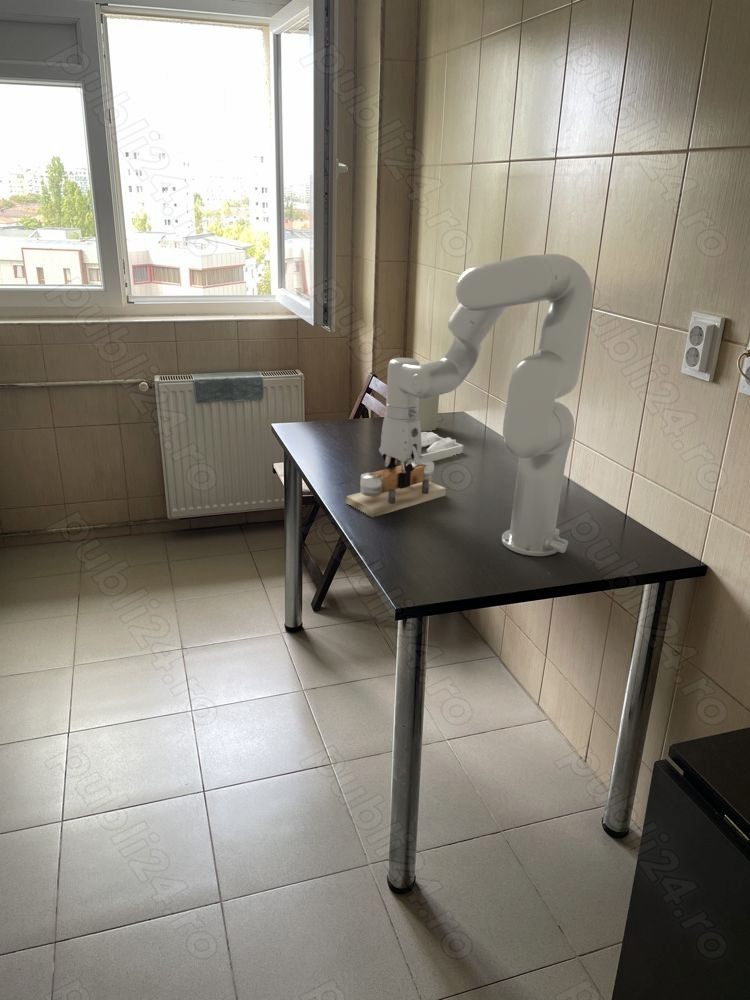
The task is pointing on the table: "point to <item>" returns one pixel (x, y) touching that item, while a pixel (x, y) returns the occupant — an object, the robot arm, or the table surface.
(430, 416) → the travel mug
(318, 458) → the table surface
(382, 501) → the tool rack
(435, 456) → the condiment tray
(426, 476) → the orange dumbbell
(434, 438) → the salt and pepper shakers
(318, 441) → the table surface
